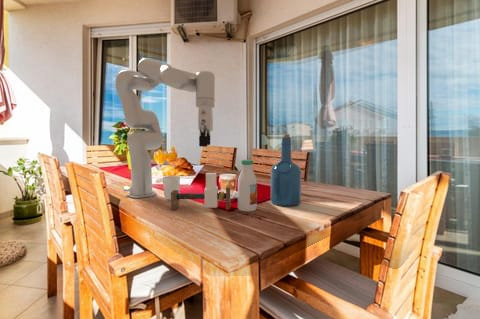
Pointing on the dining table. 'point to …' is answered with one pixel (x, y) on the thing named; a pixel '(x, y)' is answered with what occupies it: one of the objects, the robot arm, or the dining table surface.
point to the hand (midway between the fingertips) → (205, 145)
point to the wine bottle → (286, 178)
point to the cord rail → (198, 197)
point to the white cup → (170, 185)
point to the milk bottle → (247, 187)
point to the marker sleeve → (211, 191)
